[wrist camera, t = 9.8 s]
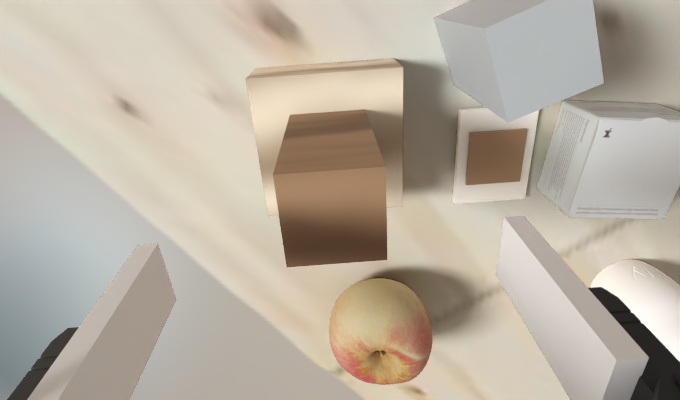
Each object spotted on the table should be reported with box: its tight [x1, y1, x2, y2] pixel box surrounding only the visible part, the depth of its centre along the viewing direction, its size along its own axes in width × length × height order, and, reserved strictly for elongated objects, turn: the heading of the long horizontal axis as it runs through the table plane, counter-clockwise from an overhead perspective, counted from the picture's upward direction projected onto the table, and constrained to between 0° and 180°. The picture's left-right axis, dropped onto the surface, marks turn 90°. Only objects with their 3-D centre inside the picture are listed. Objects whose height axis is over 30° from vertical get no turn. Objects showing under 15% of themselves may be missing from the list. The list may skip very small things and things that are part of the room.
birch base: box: [246, 58, 403, 216], centre depth 30 cm, size 10×10×4 cm
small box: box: [537, 100, 680, 219], centre depth 31 cm, size 8×8×5 cm
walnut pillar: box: [273, 109, 387, 267], centre depth 24 cm, size 5×5×10 cm
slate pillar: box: [434, 0, 604, 122], centre depth 24 cm, size 5×5×10 cm
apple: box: [329, 278, 432, 385], centre depth 36 cm, size 9×9×8 cm
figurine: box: [590, 259, 680, 362], centre depth 34 cm, size 7×8×12 cm
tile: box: [453, 107, 539, 204], centre depth 33 cm, size 8×6×1 cm
